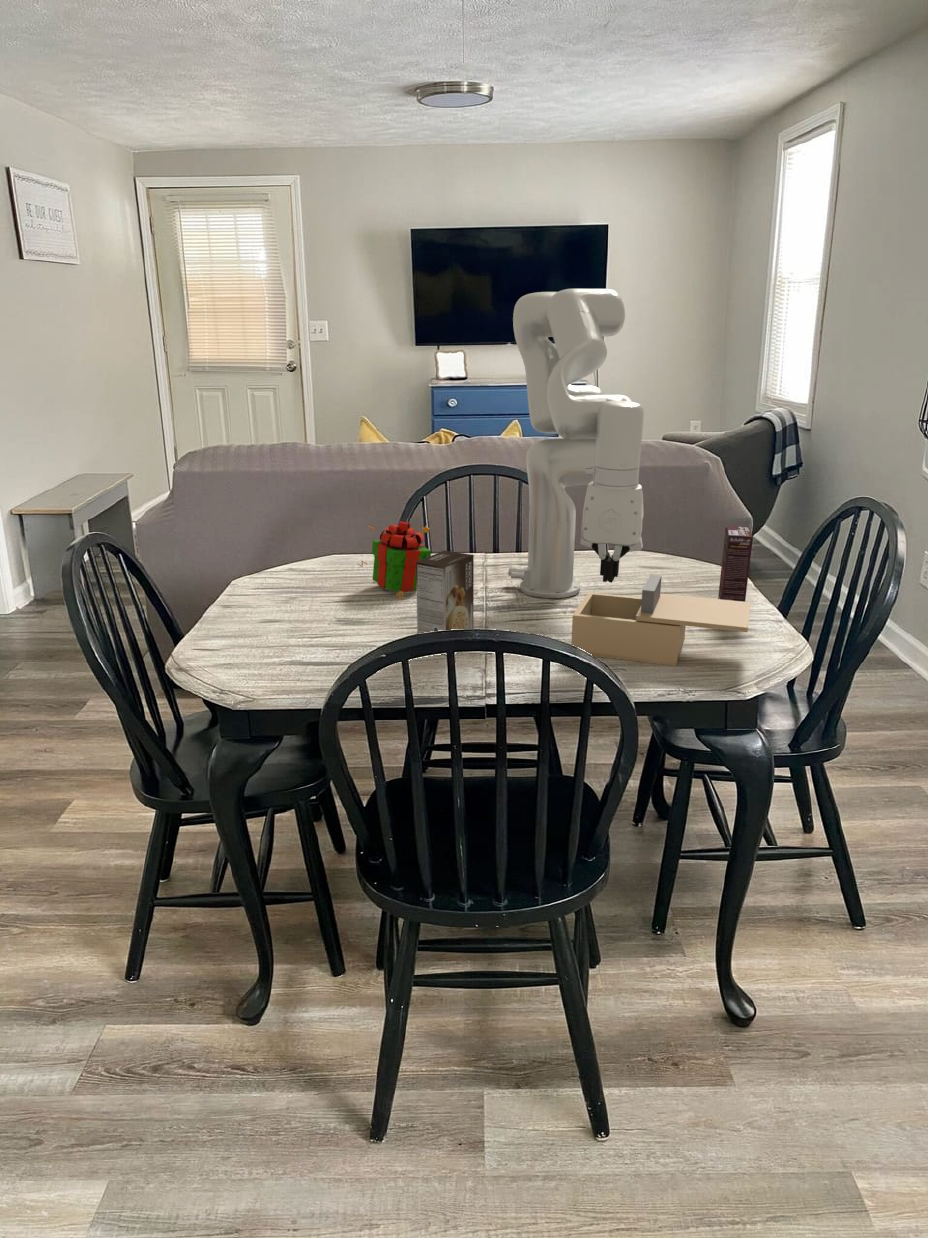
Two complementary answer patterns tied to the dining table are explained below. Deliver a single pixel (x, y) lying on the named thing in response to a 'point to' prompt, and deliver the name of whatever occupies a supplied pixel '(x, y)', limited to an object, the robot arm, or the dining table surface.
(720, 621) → the lid
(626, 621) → the tray
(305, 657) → the dining table surface
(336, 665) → the dining table surface
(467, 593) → the coffee box
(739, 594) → the supplement box
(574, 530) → the robot arm
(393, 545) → the green gift box
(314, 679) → the dining table surface
